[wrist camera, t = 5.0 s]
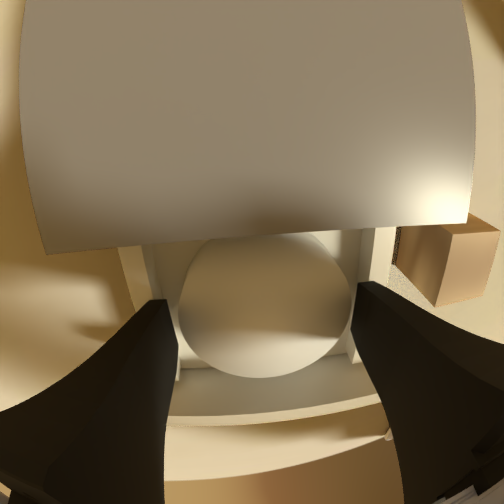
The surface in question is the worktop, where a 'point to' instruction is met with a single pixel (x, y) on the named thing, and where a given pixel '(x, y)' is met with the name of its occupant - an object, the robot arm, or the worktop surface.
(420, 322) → the robot arm
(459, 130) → the grey boxy piece
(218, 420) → the tray
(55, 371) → the worktop surface
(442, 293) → the block
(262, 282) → the disc
